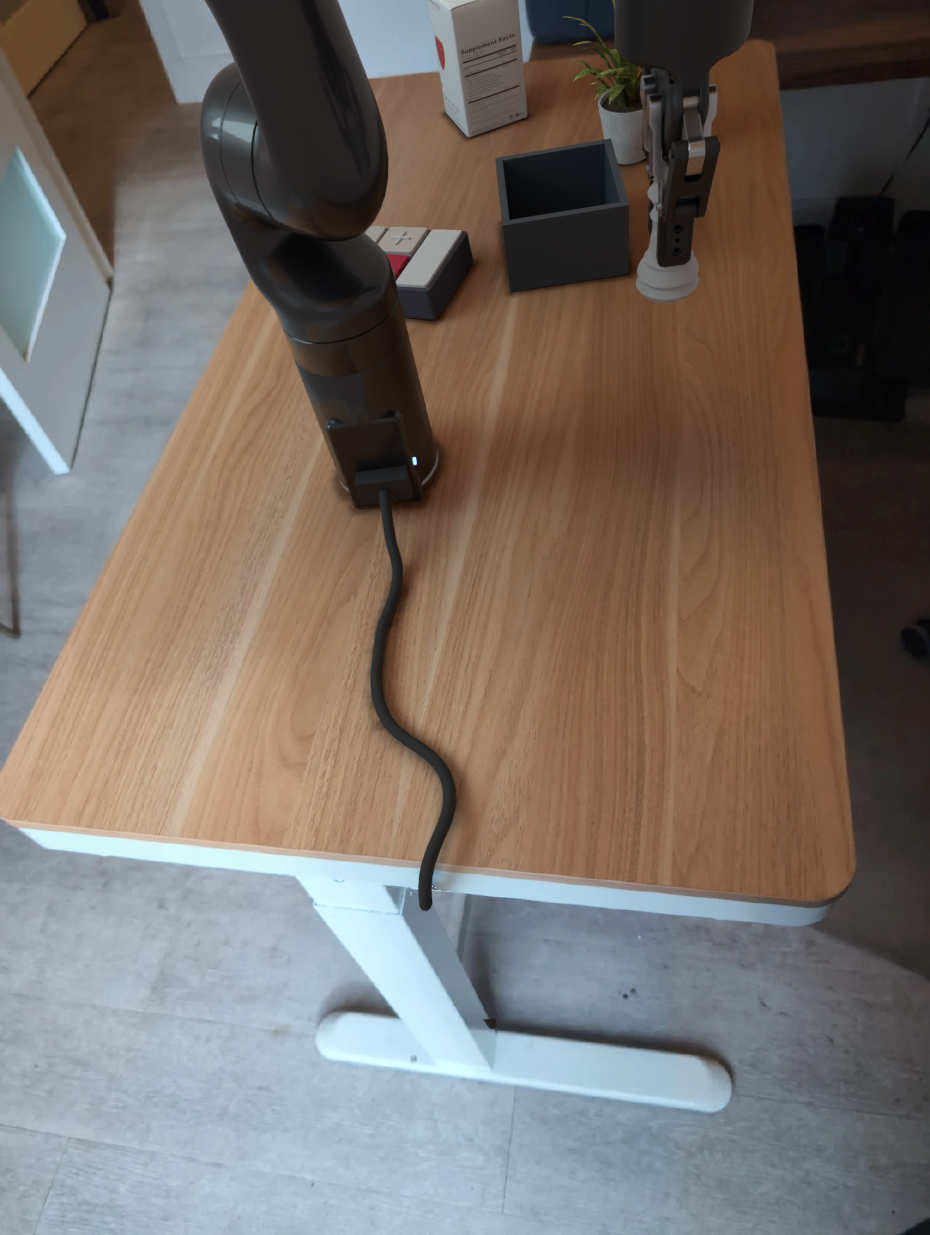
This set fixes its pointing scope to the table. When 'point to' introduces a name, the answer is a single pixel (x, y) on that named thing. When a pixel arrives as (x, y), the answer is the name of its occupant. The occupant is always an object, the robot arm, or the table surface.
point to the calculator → (424, 265)
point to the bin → (563, 215)
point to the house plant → (618, 102)
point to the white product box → (480, 62)
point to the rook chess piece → (664, 268)
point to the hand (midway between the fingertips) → (668, 246)
